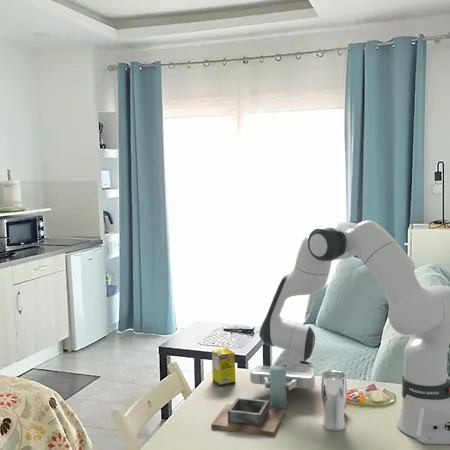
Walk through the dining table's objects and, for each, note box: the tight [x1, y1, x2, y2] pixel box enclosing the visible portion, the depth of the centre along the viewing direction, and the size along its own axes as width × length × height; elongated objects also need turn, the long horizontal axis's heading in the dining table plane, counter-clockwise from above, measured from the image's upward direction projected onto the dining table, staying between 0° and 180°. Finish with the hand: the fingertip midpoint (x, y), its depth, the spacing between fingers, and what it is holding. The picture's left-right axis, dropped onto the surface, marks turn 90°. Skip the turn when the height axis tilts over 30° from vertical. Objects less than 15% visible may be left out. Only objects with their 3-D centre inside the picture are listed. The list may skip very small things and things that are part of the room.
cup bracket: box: [210, 397, 286, 437], centre depth 167 cm, size 18×14×5 cm
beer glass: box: [320, 369, 348, 432], centre depth 162 cm, size 7×7×15 cm
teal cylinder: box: [269, 365, 288, 410], centre depth 176 cm, size 5×5×12 cm
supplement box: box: [211, 347, 236, 387], centre depth 196 cm, size 6×6×11 cm
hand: (277, 386), depth 175 cm, fingers closed on teal cylinder, 5 cm apart
